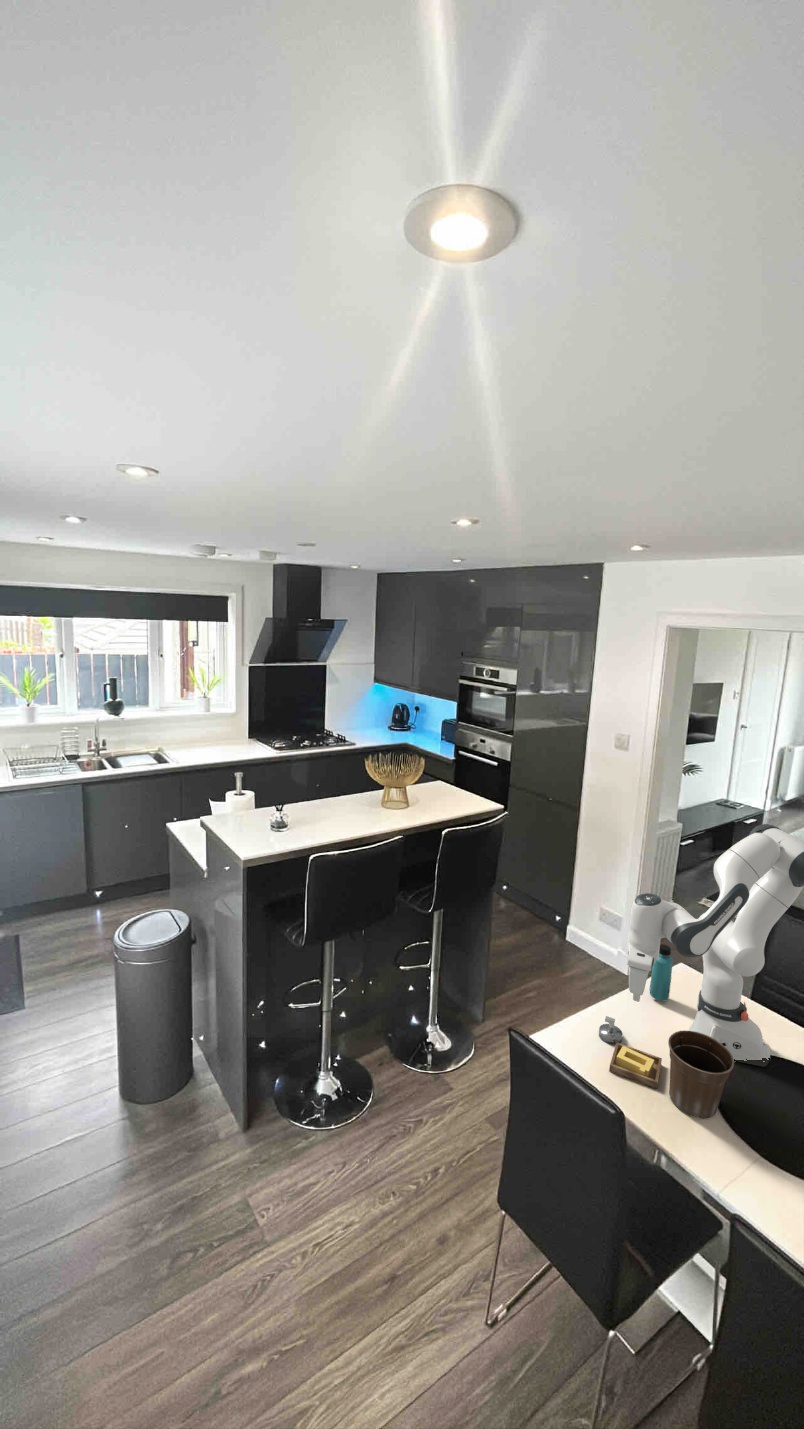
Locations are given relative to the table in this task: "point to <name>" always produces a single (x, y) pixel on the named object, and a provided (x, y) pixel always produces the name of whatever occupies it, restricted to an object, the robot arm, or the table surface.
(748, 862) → the robot arm
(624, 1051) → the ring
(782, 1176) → the table surface
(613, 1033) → the silver knob
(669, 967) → the beverage bottle
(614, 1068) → the tray
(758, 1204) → the table surface
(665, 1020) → the table surface
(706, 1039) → the plant pot
